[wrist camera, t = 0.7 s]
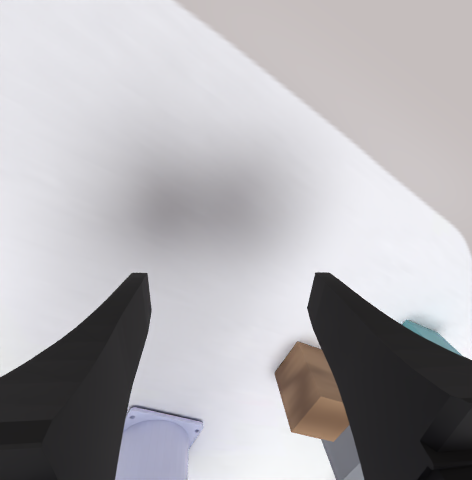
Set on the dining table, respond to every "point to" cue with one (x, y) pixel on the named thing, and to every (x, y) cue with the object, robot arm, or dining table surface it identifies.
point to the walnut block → (311, 394)
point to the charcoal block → (344, 457)
